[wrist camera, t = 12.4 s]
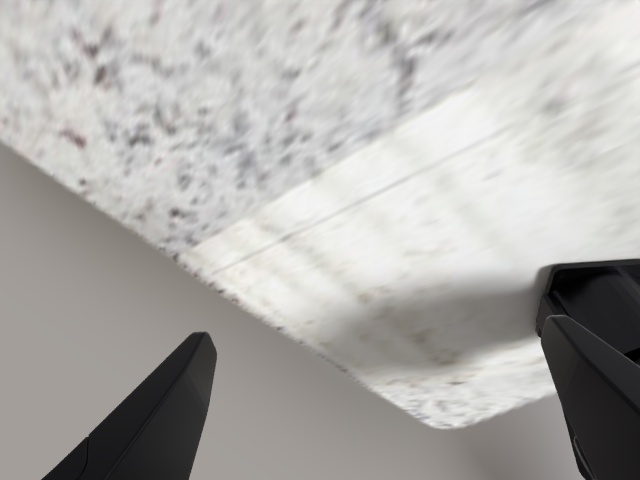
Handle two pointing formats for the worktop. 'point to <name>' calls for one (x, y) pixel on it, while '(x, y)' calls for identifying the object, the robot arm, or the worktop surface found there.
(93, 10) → the worktop surface
